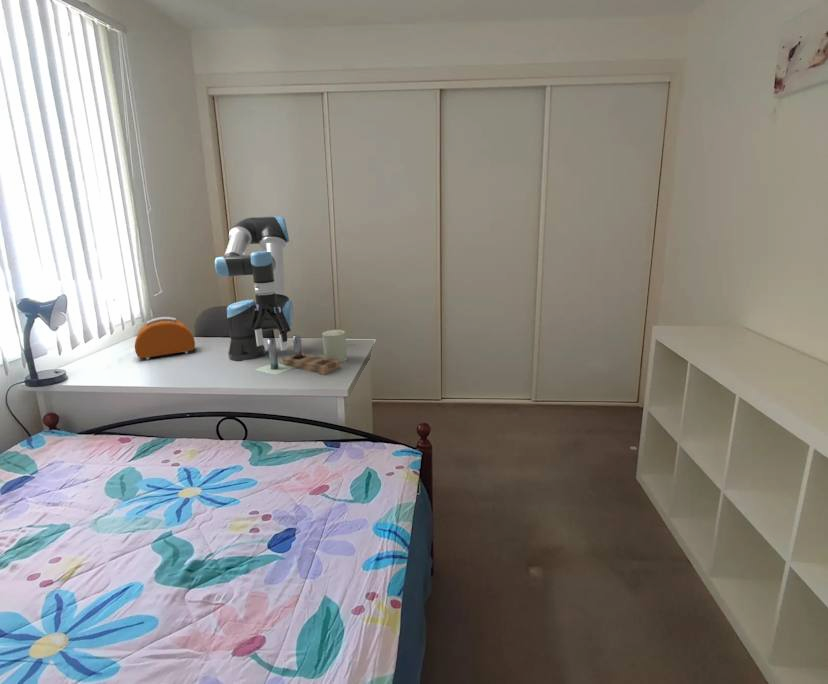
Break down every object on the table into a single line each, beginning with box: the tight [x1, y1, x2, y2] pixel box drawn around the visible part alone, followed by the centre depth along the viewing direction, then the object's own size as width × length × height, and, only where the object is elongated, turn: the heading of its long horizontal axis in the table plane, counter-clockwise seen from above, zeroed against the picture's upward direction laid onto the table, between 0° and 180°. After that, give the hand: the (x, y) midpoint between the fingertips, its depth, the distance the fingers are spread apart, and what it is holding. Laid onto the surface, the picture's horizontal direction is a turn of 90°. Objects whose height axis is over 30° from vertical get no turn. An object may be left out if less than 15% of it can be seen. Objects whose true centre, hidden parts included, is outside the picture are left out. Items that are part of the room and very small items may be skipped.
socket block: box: [282, 352, 341, 376], centre depth 204 cm, size 22×9×3 cm, turn 56°
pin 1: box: [266, 337, 279, 370], centre depth 202 cm, size 3×3×12 cm
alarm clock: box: [134, 316, 196, 361], centre depth 226 cm, size 23×9×17 cm, turn 115°
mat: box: [254, 362, 295, 376], centre depth 203 cm, size 12×10×1 cm
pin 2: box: [292, 334, 304, 360], centre depth 206 cm, size 3×3×12 cm
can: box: [321, 329, 348, 363], centre depth 210 cm, size 9×9×12 cm
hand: (272, 347), depth 200 cm, fingers open, 13 cm apart
